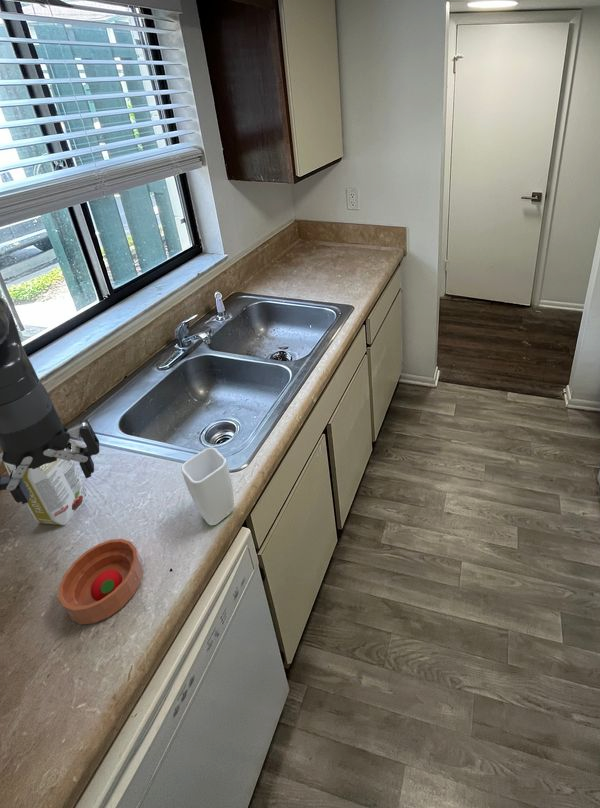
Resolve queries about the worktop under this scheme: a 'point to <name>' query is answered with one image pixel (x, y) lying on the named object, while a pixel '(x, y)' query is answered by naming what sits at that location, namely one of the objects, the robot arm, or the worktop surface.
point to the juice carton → (54, 491)
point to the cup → (209, 485)
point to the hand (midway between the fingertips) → (58, 486)
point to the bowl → (86, 570)
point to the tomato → (105, 584)
